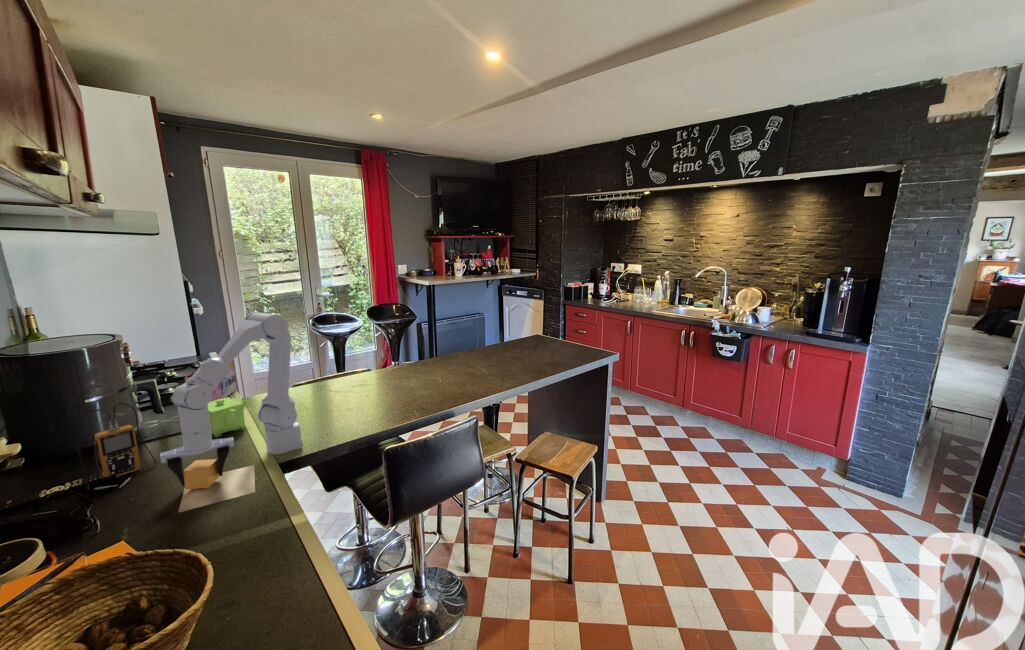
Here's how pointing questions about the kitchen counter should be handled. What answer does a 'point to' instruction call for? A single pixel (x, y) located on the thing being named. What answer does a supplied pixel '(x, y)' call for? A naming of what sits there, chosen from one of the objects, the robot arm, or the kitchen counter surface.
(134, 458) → the multimeter
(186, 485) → the tilted amber cube
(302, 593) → the kitchen counter surface
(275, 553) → the kitchen counter surface
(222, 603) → the kitchen counter surface
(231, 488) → the board
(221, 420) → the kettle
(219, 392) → the gum box
